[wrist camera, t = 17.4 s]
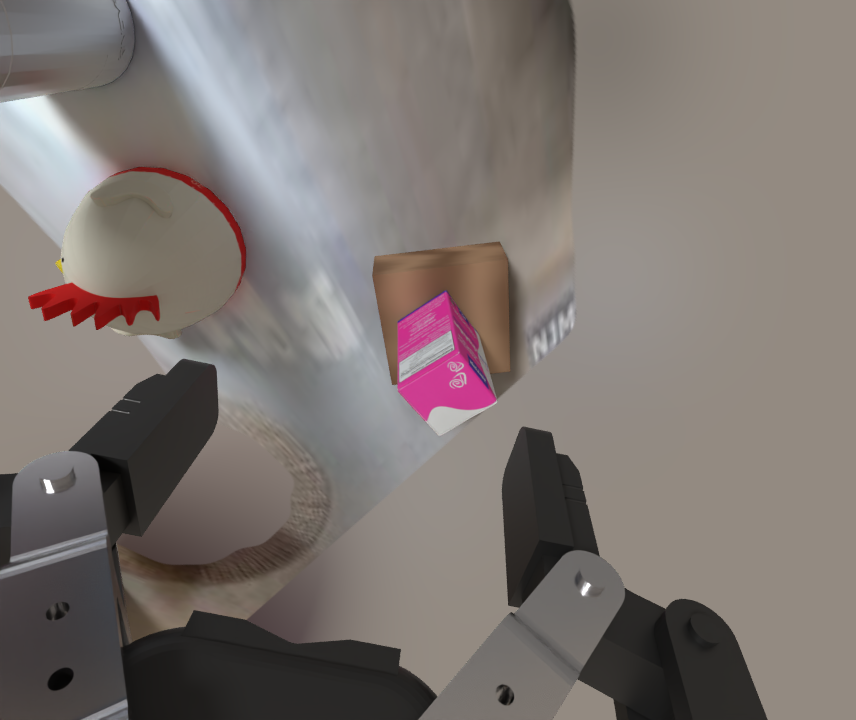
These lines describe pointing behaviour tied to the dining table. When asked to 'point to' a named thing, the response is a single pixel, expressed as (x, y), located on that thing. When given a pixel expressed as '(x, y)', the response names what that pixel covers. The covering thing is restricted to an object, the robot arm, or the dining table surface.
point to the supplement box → (442, 365)
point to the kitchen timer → (147, 255)
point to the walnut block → (466, 284)
